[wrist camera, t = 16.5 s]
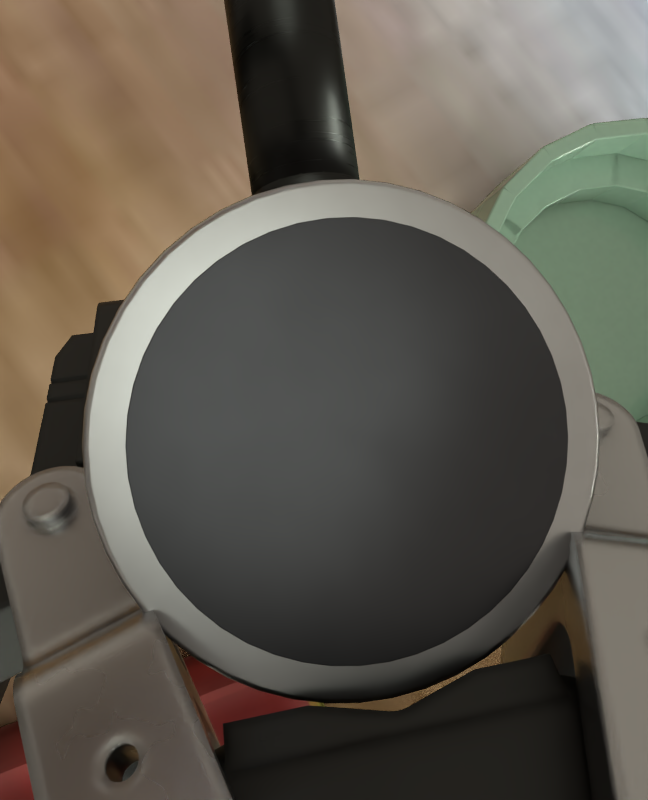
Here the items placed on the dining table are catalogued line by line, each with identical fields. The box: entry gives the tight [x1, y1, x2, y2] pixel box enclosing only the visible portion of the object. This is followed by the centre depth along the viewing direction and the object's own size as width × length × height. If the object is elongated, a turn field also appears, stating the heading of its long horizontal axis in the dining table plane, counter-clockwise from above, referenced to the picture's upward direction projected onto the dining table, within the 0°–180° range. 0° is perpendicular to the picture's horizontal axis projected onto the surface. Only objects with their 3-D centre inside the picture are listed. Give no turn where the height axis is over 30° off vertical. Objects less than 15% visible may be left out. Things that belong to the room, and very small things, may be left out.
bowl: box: [471, 118, 648, 423], centre depth 26 cm, size 15×15×4 cm
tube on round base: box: [82, 0, 600, 703], centre depth 10 cm, size 11×5×10 cm, turn 8°
